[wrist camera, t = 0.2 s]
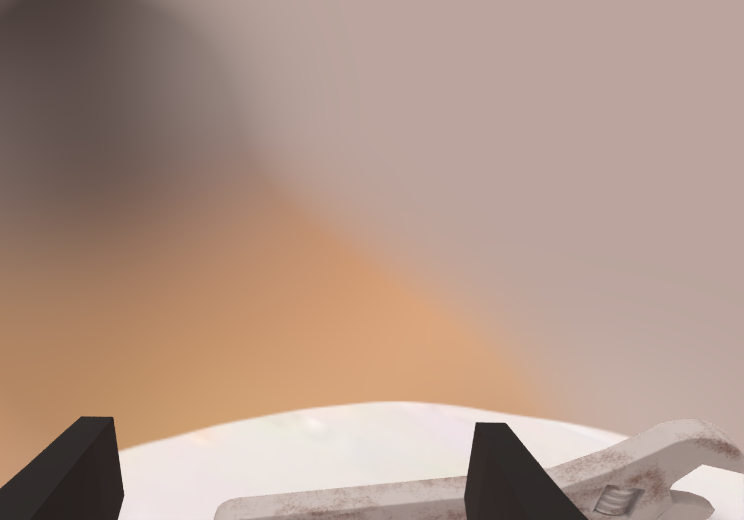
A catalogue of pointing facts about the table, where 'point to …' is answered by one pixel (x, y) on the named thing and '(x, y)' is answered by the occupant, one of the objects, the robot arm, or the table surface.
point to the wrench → (575, 478)
